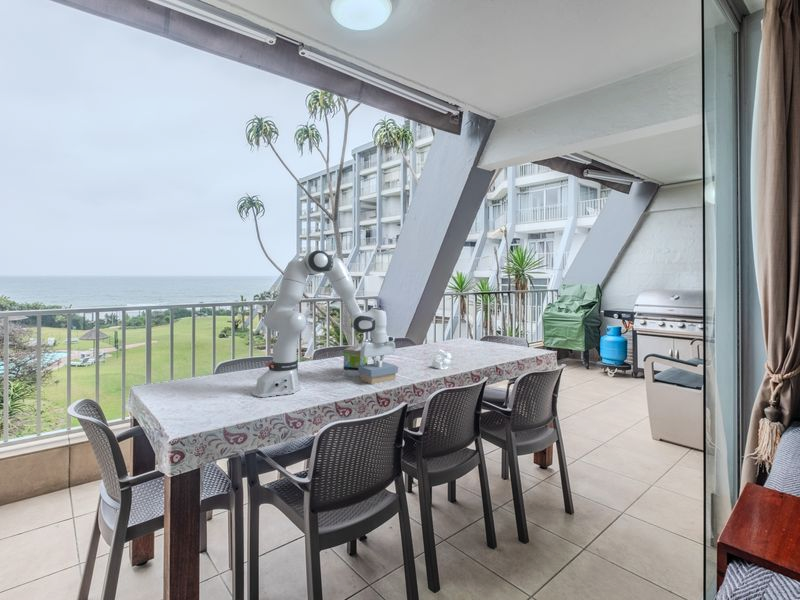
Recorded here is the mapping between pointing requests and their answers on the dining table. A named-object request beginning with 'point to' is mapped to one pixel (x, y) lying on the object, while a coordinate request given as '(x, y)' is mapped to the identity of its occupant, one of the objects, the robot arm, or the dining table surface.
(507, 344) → the dining table surface
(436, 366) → the rabbit
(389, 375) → the mailer box
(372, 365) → the mailer lid
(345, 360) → the tea box
